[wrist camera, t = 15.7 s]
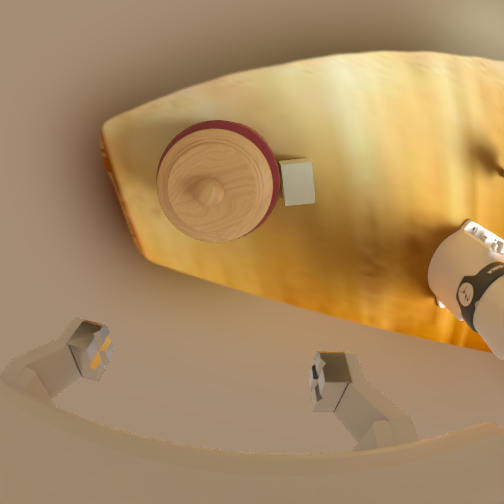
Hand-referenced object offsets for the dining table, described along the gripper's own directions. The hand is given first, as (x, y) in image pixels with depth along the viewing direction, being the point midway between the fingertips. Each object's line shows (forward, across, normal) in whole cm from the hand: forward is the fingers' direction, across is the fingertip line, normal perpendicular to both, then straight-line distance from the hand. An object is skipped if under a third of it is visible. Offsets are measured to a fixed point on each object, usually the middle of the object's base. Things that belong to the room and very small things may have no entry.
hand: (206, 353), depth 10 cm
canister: (+34, +3, -2) cm, 34 cm away
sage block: (+29, -6, -1) cm, 30 cm away
